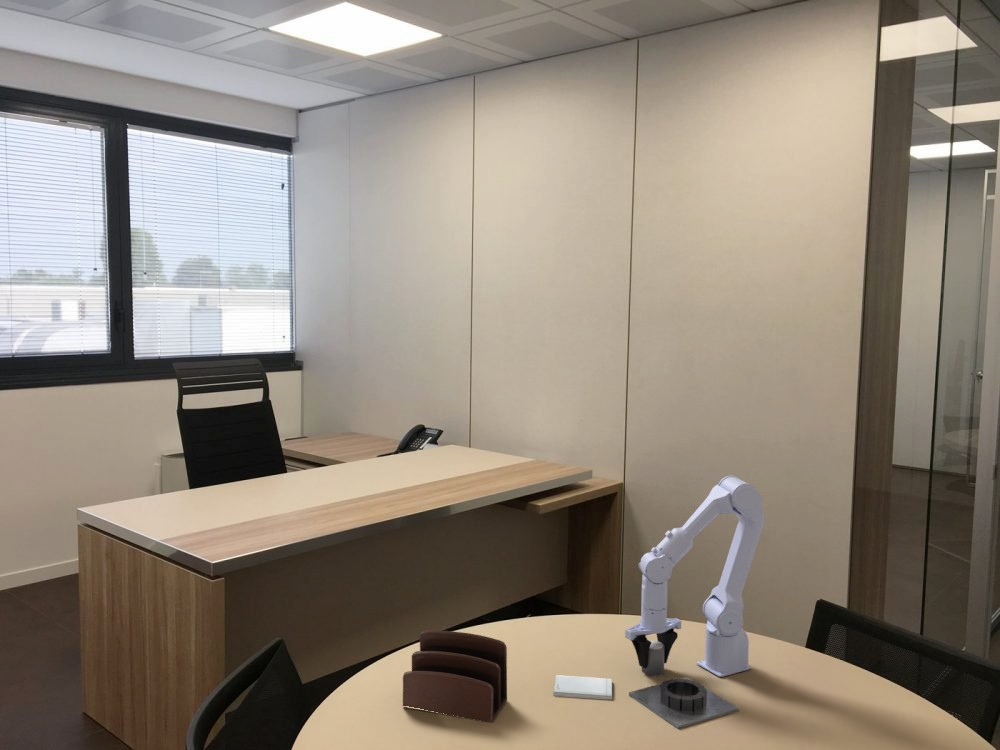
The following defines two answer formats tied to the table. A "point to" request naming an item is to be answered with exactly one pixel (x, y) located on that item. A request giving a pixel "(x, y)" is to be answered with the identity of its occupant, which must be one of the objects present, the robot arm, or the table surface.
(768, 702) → the table surface
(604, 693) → the hard drive
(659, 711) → the flat grey square plate
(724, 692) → the table surface
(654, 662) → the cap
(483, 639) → the letter holder
